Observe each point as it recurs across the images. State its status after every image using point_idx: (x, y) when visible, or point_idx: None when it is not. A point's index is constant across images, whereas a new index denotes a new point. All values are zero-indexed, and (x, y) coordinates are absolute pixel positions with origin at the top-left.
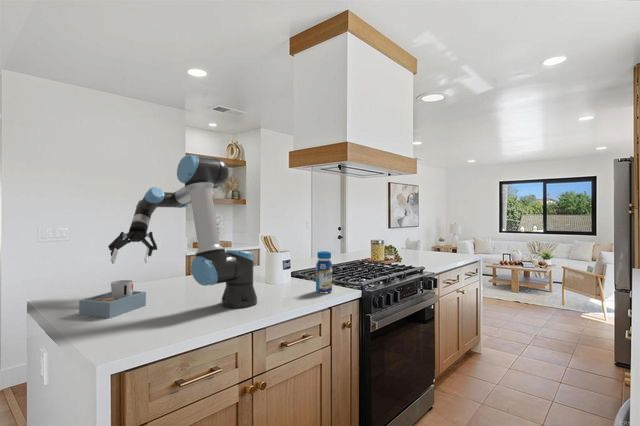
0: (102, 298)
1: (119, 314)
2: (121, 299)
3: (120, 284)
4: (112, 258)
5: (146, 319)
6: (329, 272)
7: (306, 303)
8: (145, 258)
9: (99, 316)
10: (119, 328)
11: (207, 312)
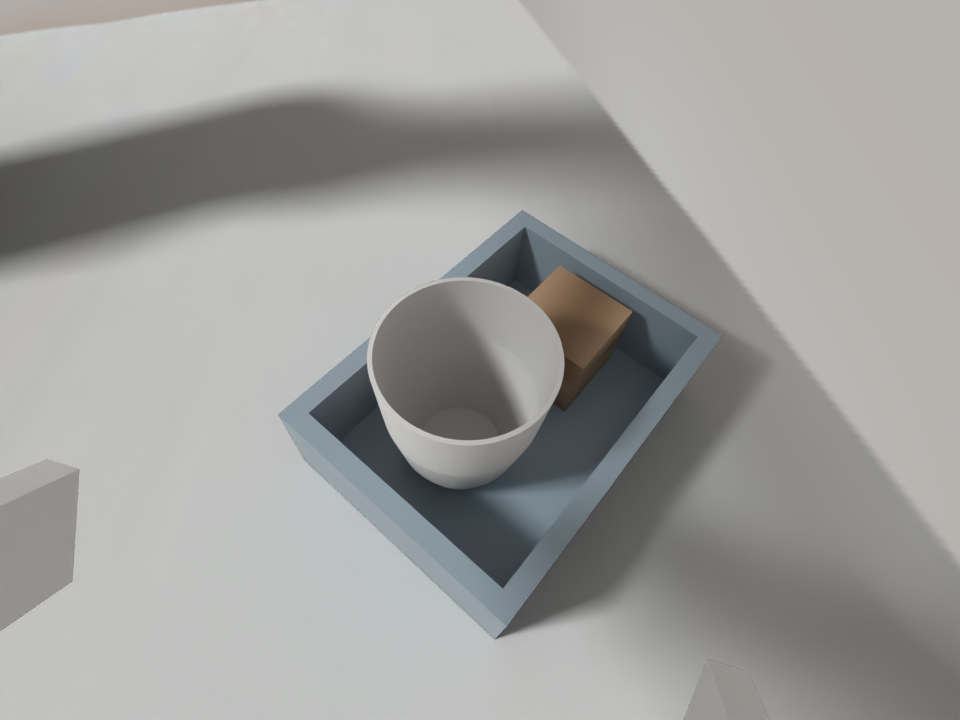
0: (582, 320)
1: None
2: (462, 262)
3: (477, 283)
4: (728, 692)
5: (350, 193)
6: None
7: None
8: (42, 471)
9: None
10: (460, 137)
11: (57, 181)
